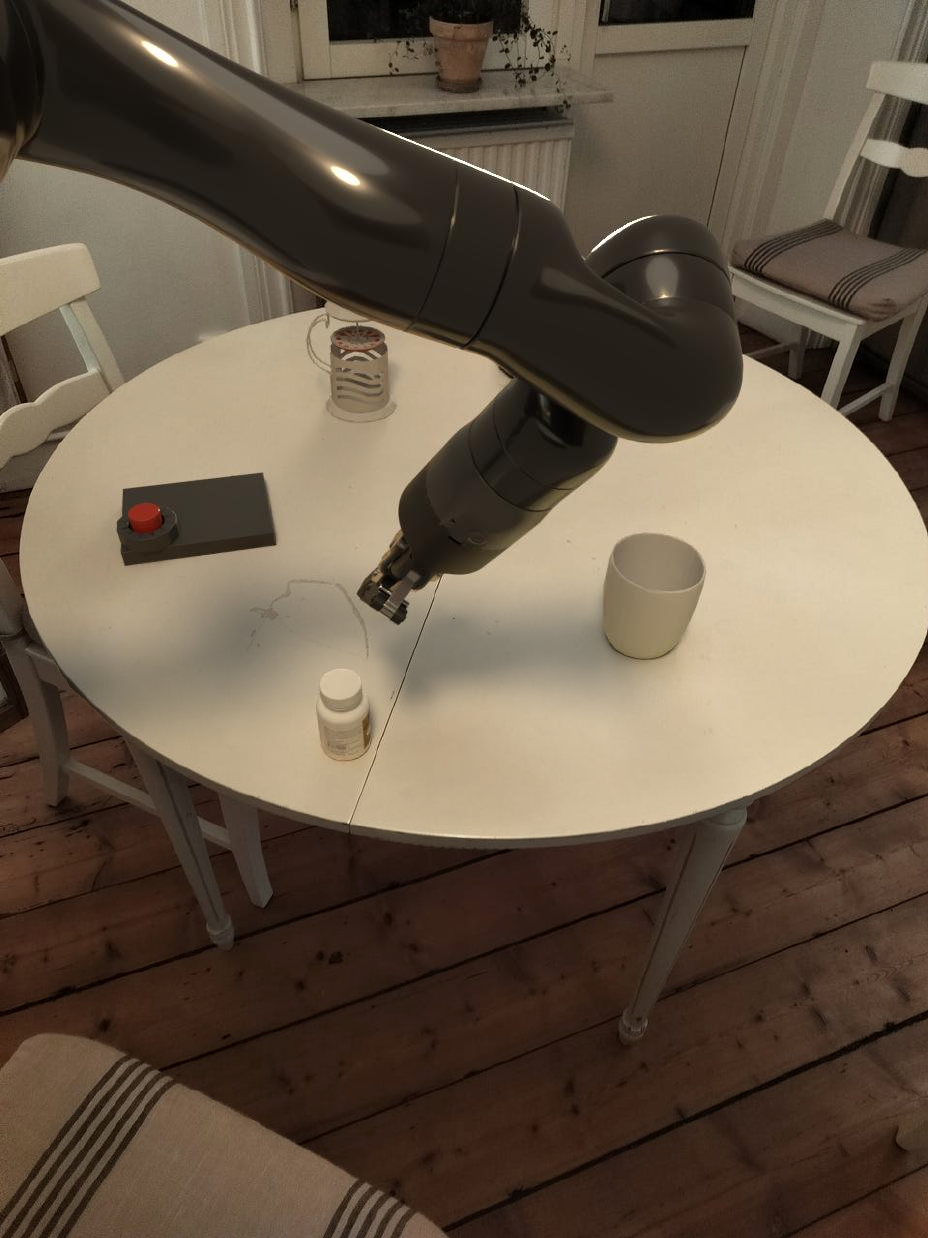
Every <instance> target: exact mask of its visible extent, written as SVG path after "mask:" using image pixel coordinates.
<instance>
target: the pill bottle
mask: <svg viewBox="0 0 928 1238" xmlns="http://www.w3.org/2000/svg"><path fill="white" fill-rule="evenodd" d="M318 683H319V684H318V688H319V689H318V690H319V696H318V698H317V700H316V702H315V703H316V704H315V709H316V718H317V725H318V726H317V727H318V733H319V742H320V747H321V749H322V751H323V752H324V754H325V755H326V756H328V758H331V759H333V760H336V761H340V762H342V761H343V762H347V761H352V760H355V759H357V758H359V757H361V756H362V755H364V754H365V753H366V752H367V751H368V750H369V748H370V745H371V744H372V743H371V742H372V732H371V719H370V717H371V716H370V715H371V714H370V702H369V698H368V696H367V694H366V692H365V691H363V685H362V679H361V677H360V675H358V673H357V672H356V671H354V670H351V669H348V668H334V669H332V670H329V671H327V672H326V673H325V674H324V675H322V677H321V678H320V680H319V682H318Z"/></svg>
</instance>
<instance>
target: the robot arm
mask: <svg viewBox="0 0 928 1238" xmlns="http://www.w3.org/2000/svg"><path fill="white" fill-rule="evenodd" d="M14 160H20V161H25V162H30V163H35V164H41V165H45V166H51V167H55V168H59V169H60V168H61V169H64V170H68V171H73V172H78V173H81V174H86V175H89V176H93V177H95V178H96V177H97V178H100V179H103V180H106V181H110V182H112V183H115V184H117V185H121V186H124V187H126V188H129V189H132V190H134V191H136V192H140V193H142V194H144V195H147V196H149V197H151V198H154V199H156V200H158V201H160V202H163V203H165V204H166V205H169V206H171V207H173V208H174V209H176V210H179V211H180V212H182V213H184V214H187V215H188V216H190V217H192V218H194V219H196V220H198V221H199V222H201V223H203V224H204V225H206V226H208V227H209V228H211V229H212V230H214V231H216V232H217V233H220V234H221V235H223V236H224V237H226V238H227V239H229V240H230V241H232V242H234V243H235V244H237V245H239V246H240V247H242V248H243V249H244V250H246V251H247V252H248V253H250V254H252V255H253V256H254V257H256V258H258V259H259V260H261V261H262V262H264V263H265V264H267V265H268V266H270V267H271V268H273V269H274V270H275V271H277V272H279V273H280V274H282V275H283V276H285V277H286V278H288V279H289V280H291V281H292V282H294V283H296V284H297V285H299V286H300V287H302V288H304V289H305V290H307V291H309V292H311V293H312V294H314V295H316V296H318V297H319V298H321V299H323V300H325V301H327V302H328V301H329V302H331V303H333V304H335V305H337V306H339V307H341V308H343V309H345V310H348V311H350V312H352V313H354V314H357V315H359V316H362V317H364V318H367V319H370V320H372V321H371V322H375V323H376V324H377V323H378V324H380V325H383V326H386V327H389V328H392V329H394V330H397V331H401V332H402V333H403V332H404V333H406V334H410V335H413V336H416V337H420V338H422V339H425V340H429V341H432V342H434V343H438V344H441V345H445V346H447V347H451V348H452V349H453V348H454V349H459V350H461V351H464V352H467V353H470V354H474V355H478V356H481V357H484V358H486V359H488V360H490V361H491V362H492V363H494V364H496V365H497V366H498V367H500V368H501V369H503V371H505V370H506V371H507V372H508V373H510V374H511V375H512V376H511V375H510V374H509V375H510V376H511V377H513V376H514V377H513V378H512V379H511V380H509V382H508V383H506V385H505V386H504V387H503V388H502V389H501V390H500V391H499V392H498V393H497V394H496V396H494V397H493V398H492V400H490V402H489V403H488V404H487V405H486V406H485V407H484V408H483V409H482V410H481V411H480V412H479V414H478V415H476V416H475V417H474V418H473V419H472V420H470V421H469V422H467V423H466V424H465V425H463V426H462V427H461V428H459V429H458V430H457V431H456V432H455V433H454V434H453V435H452V436H451V437H450V438H449V439H448V440H447V441H446V442H445V444H444V445H443V446H442V447H441V448H440V449H439V450H438V451H437V452H436V453H435V454H434V455H433V456H432V458H431V459H430V460H429V461H428V462H427V463H426V464H425V465H424V466H423V468H422V469H421V470H420V471H419V472H418V473H417V474H416V475H415V476H414V477H413V478H412V480H410V481H409V483H407V485H406V486H405V487H404V489H403V491H402V493H401V495H400V498H399V501H398V511H397V512H398V513H397V516H398V523H399V526H400V529H399V530H398V531H397V532H396V533H395V535H394V536H393V538H392V540H391V542H390V544H389V546H388V547H389V549H388V550H387V551H385V552H384V554H383V555H382V557H381V558H380V561H379V562H378V564H377V566H376V568H374V569H373V570H372V571H371V572H370V573H369V574H368V575H367V576H366V577H365V578H364V579H363V581H362V583H361V584H360V587H359V588H358V590H357V591H356V595H357V597H358V598H359V601H361V602H362V603H364V604H365V605H367V606H368V607H370V608H371V609H372V610H374V611H376V612H377V613H378V614H380V615H381V616H383V617H384V618H386V619H387V620H389V621H390V622H391V623H393V624H394V625H396V626H400V625H401V624H402V623H404V622H405V620H406V619H407V615H408V613H409V611H408V608H409V606H410V604H411V603H410V602H409V601H408V600H406V597H407V596H409V593H410V592H412V593H417V592H418V591H420V590H423V589H424V588H425V587H426V586H428V584H429V583H431V582H432V583H436V582H437V581H438V580H439V579H441V578H442V577H443V576H444V575H453V576H455V575H456V576H463V575H469V574H473V573H476V572H478V571H480V570H481V569H483V568H485V567H486V566H487V565H488V564H490V563H491V562H492V561H494V560H495V559H497V557H499V556H500V555H501V554H503V553H504V552H505V551H507V550H508V549H509V548H511V546H513V545H515V543H517V542H518V541H519V540H520V539H522V538H523V537H524V536H525V535H527V534H528V533H530V532H531V531H532V530H533V529H535V528H536V527H537V526H538V525H539V524H540V523H542V521H544V519H545V518H546V517H547V516H548V515H549V514H550V513H551V511H552V510H553V509H554V508H555V507H556V506H557V505H559V504H560V503H561V502H562V501H563V500H564V499H566V498H567V497H568V496H570V495H571V494H572V493H573V492H575V491H576V490H578V489H579V488H580V487H581V486H583V485H584V484H585V483H586V482H588V481H589V480H591V479H592V478H594V476H595V475H596V474H598V472H600V471H601V469H603V468H604V466H605V465H606V464H607V463H608V462H609V461H610V460H611V458H612V457H613V455H614V452H615V450H616V448H617V445H618V442H619V439H622V440H625V441H630V442H634V443H635V442H636V443H640V444H651V445H652V444H653V445H654V444H656V445H658V444H659V445H660V444H662V445H663V444H664V445H665V444H675V443H678V442H683V441H687V440H690V439H691V440H692V439H693V438H696V437H699V436H701V435H703V434H705V433H707V432H708V431H709V430H712V429H713V428H715V427H716V426H717V425H719V424H720V423H721V422H722V421H723V420H724V419H725V418H726V417H727V416H728V414H729V413H730V412H731V411H732V409H733V408H734V406H735V405H736V403H737V401H738V398H739V396H740V393H741V389H742V386H743V380H744V358H743V349H742V343H741V337H740V332H739V325H738V318H737V314H736V307H735V301H734V296H733V294H734V293H733V290H732V289H733V288H732V282H731V276H730V275H731V274H730V271H729V265H728V260H727V257H726V254H725V252H724V249H723V247H722V245H721V242H720V241H719V238H718V237H717V236H716V235H715V233H714V232H713V231H712V229H710V228H709V227H708V226H707V225H706V224H705V223H702V221H700V220H697V219H696V218H693V217H691V216H687V215H684V214H677V213H657V214H654V215H653V214H652V215H649V216H645V217H642V218H639V219H637V220H634V221H632V222H629V223H627V224H626V225H624V226H623V227H621V228H619V229H617V230H616V231H614V232H612V233H611V234H609V235H608V236H607V237H606V238H605V239H603V240H602V241H601V242H600V243H599V244H598V245H596V246H595V247H594V248H593V249H592V250H591V252H590V253H588V255H587V256H586V257H585V258H584V256H583V254H582V253H581V250H580V248H579V245H578V243H577V241H576V237H575V235H574V233H573V231H572V228H571V226H570V224H569V222H568V220H567V218H566V215H565V214H564V213H563V211H562V210H561V208H560V207H559V206H557V205H556V204H555V203H554V202H553V201H551V200H550V199H548V198H547V197H545V196H543V195H542V194H540V193H538V192H536V191H533V190H531V189H530V188H527V187H525V186H523V185H521V184H519V183H516V182H513V181H510V180H508V179H506V178H504V177H502V176H499V175H496V174H494V173H492V172H490V171H487V170H485V169H482V168H480V167H477V166H475V165H472V164H470V163H468V162H465V161H463V160H460V159H458V158H455V157H452V156H450V155H448V154H445V153H443V152H440V151H437V150H435V149H432V148H430V147H427V146H425V145H423V144H419V143H417V142H415V141H412V140H410V139H407V138H405V137H402V136H400V135H397V134H395V133H393V132H390V131H388V130H385V129H383V128H380V127H377V126H375V125H372V124H370V123H368V122H365V121H363V120H361V119H359V118H356V117H354V116H351V115H349V114H347V113H345V112H342V111H340V110H338V109H335V108H333V107H331V106H328V105H327V104H324V103H322V102H320V101H318V100H315V99H313V98H311V97H309V96H307V95H305V94H302V93H300V92H298V91H296V90H294V89H292V88H290V87H287V86H285V85H284V84H281V83H279V82H276V81H275V80H272V79H270V78H269V77H266V76H264V75H263V74H260V73H258V72H256V71H254V70H252V69H251V68H248V67H246V66H244V65H242V64H240V63H238V62H236V61H234V60H232V59H230V58H228V57H226V56H224V55H222V54H220V53H218V52H217V51H214V50H213V49H211V48H209V47H208V46H205V45H203V44H201V43H200V42H197V41H196V40H194V39H192V38H189V37H188V36H186V35H184V34H182V33H180V32H179V31H177V30H175V29H173V28H171V27H169V26H167V25H165V24H164V23H162V22H160V21H159V20H156V19H154V18H153V17H151V16H149V15H148V14H145V13H144V12H142V11H140V10H139V9H137V8H135V7H133V6H131V5H130V4H128V3H126V2H124V1H123V0H0V185H2V183H3V181H4V180H5V178H6V176H7V174H8V172H9V170H10V168H11V166H12V164H13V162H14ZM506 371H505V372H506ZM507 372H506V373H507ZM508 373H507V374H508Z"/></svg>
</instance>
